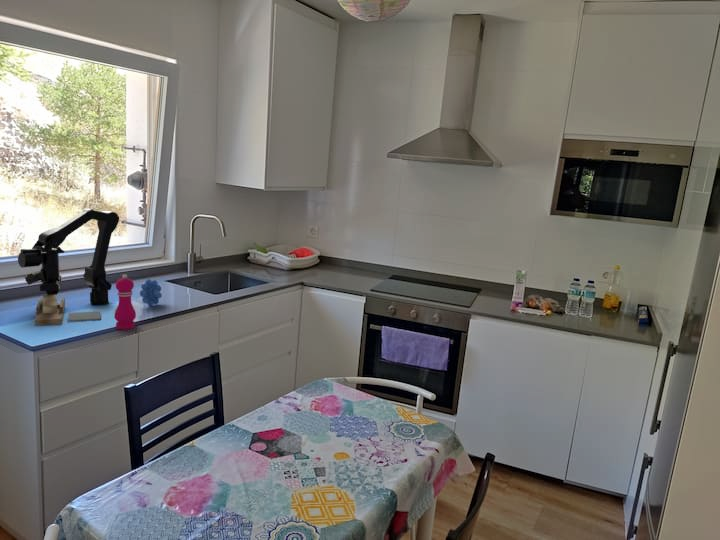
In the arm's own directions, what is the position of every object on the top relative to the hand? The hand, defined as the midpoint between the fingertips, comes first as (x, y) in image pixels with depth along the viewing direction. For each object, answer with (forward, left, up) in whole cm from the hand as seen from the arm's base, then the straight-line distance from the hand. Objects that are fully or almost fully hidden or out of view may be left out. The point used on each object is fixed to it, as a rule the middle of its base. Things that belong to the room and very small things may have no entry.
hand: (51, 303), depth 203 cm
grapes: (-37, 0, -3) cm, 37 cm away
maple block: (0, +8, -1) cm, 8 cm away
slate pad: (-12, +11, -3) cm, 16 cm away
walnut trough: (0, +6, -3) cm, 7 cm away
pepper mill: (-25, +28, -3) cm, 38 cm away
